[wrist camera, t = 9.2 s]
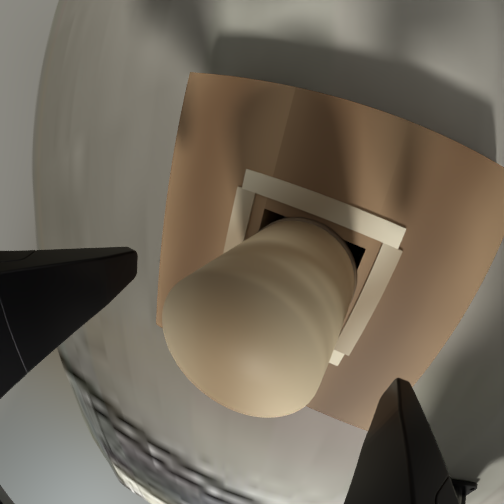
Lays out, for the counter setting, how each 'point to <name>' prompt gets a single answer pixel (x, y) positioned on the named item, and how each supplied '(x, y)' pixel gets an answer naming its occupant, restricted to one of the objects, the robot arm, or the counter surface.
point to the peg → (263, 317)
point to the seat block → (338, 217)
